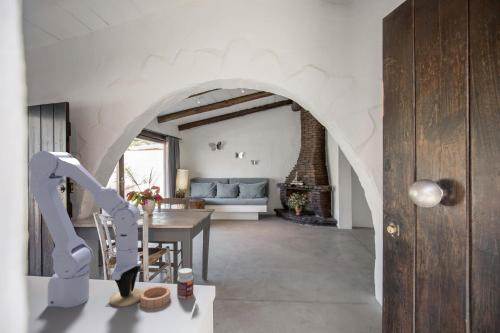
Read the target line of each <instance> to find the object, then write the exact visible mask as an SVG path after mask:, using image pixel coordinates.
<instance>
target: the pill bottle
mask: <svg viewBox="0 0 500 333" xmlns="http://www.w3.org/2000/svg"><path fill="white" fill-rule="evenodd" d="M194 280H195V279H194V276H193V269H192V268H190V267H185V268H181V269H179V270H178V277H177V280H176V281H177V282H176V283H177V284H176V285H177V287H176V298H178V299H180V300H187V299H190V298H192V297H193V296H194Z"/></svg>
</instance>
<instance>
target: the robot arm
mask: <svg viewBox="0 0 500 333" xmlns="http://www.w3.org/2000/svg"><path fill="white" fill-rule="evenodd" d="M27 166H28V168H29V170H30V182H29V188H30V189H31V192H32V195H33V197H34V200H35V201H36V204H37V206H38V208H39V210H40V213H41V215H42V218H43V220H44V222H45V224H46V227H47V230H48V231H49V234H50V236H51V239H52V241H53V243H54V248H53V251H52V253H51V257H52V260H53V262H52V263H53V266H52V268H53V272H54V273H53V275H52V276H51V277H50V279H49V280H48V283H47V307H61V308H72V307H73V308H74V307H77V306H80V305H82V304H84V303H86V302H87V301H88V300H90V263H91V262H92V261H93V259H94V251H93V249H92V248H91V247H90V246H88V244H87V243H86V241H85V239H83V238H81V237H80V236H78V235H77V233H76V231H75V227H74V225H73V223H72V220H71V219H70V216H69V214H68V210H67V209H66V207H65V205H64V202H63V199H62V198H61V195H60V193H59V190H58V188H57V186H58V185H59V183H60V181H61V180H62V179H63V178H64V177H67V178H71V179H72V180H73V181H75V182H76V183H77V184H78V185H80V186H81V187H82V188H83V189H85V190H86V191H88V192H89V194H92V195H93V203H95V204H96V205H98V207H99V208H101V209H102V210H103V211H104V212H105V213H106V214H108V216H110V217H112V219H111V220H112V223H113V225H114V227H116V233H115V237H116V239H115V240H116V243H115V244H116V245H115V246H116V247H115V249H116V250H115V254H116V255H115V258H116V259H115V260H116V261H115V264H114V268H113V271H111V280H113V281H115V283H116V286H117V289H118V291H119V292H120V295H121V297H128V296H129V294H130V287H131V292H132V291H133V289H134V288H135V285H136V281H137V276H138V274H139V271H140V269H141V268H142V263H143V261H142V260H141V253H138V252H139V246H138V245H139V230H138V227H139V224H138V223H139V222H138V221H139V220H140V218H141V210H140V209H139V207H138V205H136V204H133V203H132V204H131V202H130V201H129V200H126V199H124V198H123V196H121V195H120V194H119V191H118V189H116V188H111V186H110V187H109V186H107V187H104V186H103V184H101V183H100V181H98V180H97V179H96V178H95V177H94V176H93V175H92V174H91V173H90V172H89V171H88V170H87V169H86V168H85V167H84V166H83V165H82V164H81V163H80V161H79V160H78V159H77V158H75V157H73V155H72V154H71V153H68V152H66V151H59V152H58V151H49V150H41V151H37V152H36V153H34V155H33V156H32V157H31V159H30V160H29V162H28V163H27Z"/></svg>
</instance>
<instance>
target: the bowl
mask: <svg viewBox="0 0 500 333" xmlns="http://www.w3.org/2000/svg"><path fill="white" fill-rule="evenodd" d="M152 296H153V297H152ZM154 296H157V297H154ZM170 300H171V289H170V288H169V287H167V286H165V285H154V286H150V287H147V288H145V289H143V290H142V292H141V293H140V301H139V304H140V306H141V307H143V308H145V309H154V308H155V309H157V308H159V307H164V306H165V305H166V304H168V303H169V302H170Z"/></svg>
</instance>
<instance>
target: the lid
mask: <svg viewBox="0 0 500 333" xmlns="http://www.w3.org/2000/svg"><path fill="white" fill-rule="evenodd" d="M142 291H143V290H142V289H140V288H135V287H134V289H133V291H132V292H131V287H130V294H129V296H128V297H121V295H120V292H119V290H118V291H116V292H115V293H113V294H112V295H111V296H110V297H109V302H110V304H111V305H112V306H111V307H115V308H116V307H117V308H119V307H120V308H122V307H130V306H129V305H132V304H135V303H137V302H139V303H140V293H141V292H142Z"/></svg>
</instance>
